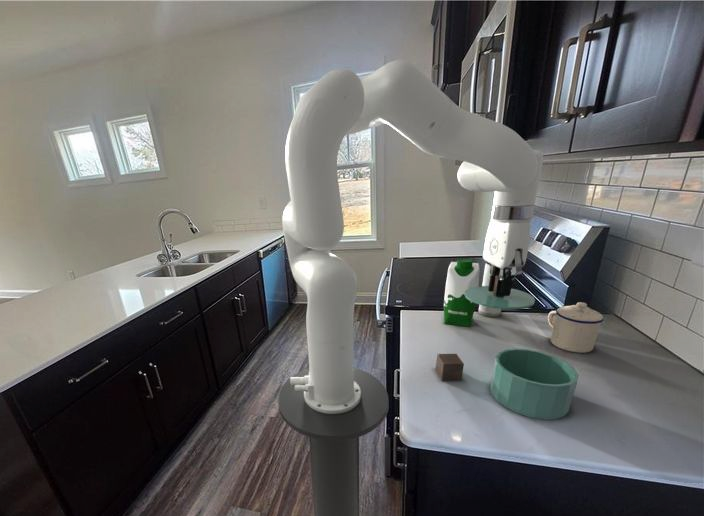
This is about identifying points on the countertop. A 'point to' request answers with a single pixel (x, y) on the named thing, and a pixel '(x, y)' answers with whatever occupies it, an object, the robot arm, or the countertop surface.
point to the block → (449, 367)
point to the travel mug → (483, 309)
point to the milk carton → (460, 292)
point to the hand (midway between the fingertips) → (498, 292)
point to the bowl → (533, 383)
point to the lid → (499, 298)
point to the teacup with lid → (575, 327)
